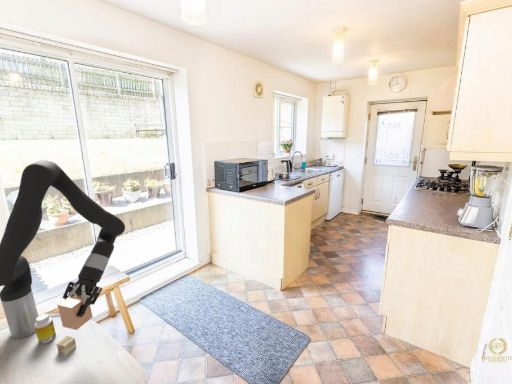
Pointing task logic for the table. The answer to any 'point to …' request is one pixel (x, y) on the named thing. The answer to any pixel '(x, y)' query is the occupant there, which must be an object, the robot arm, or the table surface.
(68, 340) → the beige block
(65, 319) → the salmon orange block
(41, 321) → the supplement bottle
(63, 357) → the table surface
